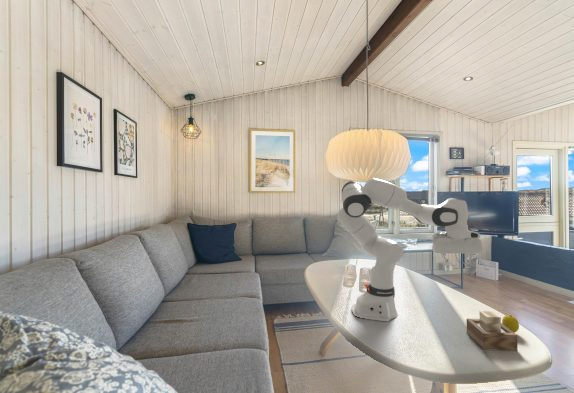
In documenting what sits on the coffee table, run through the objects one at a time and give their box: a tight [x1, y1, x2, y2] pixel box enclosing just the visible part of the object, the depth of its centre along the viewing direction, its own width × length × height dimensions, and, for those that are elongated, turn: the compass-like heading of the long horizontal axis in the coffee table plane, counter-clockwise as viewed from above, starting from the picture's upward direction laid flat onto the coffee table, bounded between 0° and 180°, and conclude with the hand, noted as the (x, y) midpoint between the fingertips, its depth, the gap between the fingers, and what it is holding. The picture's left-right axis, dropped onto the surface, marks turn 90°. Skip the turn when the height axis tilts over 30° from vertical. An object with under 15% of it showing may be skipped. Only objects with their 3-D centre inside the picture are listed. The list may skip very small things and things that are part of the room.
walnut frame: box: [466, 318, 518, 352], centre depth 106 cm, size 12×12×6 cm
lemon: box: [501, 314, 520, 333], centre depth 112 cm, size 6×6×8 cm
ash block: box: [479, 310, 502, 332], centre depth 106 cm, size 5×5×6 cm
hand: (456, 262), depth 120 cm, fingers open, 8 cm apart
